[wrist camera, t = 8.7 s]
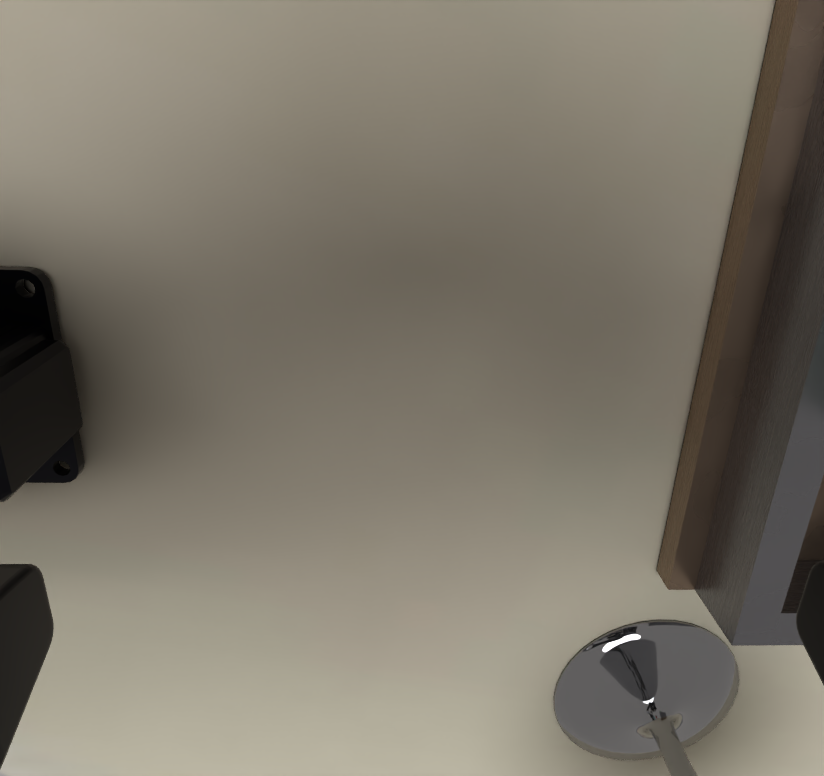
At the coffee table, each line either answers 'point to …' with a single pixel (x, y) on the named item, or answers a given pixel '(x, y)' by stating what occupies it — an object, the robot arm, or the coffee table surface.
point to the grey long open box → (762, 366)
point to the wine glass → (647, 692)
